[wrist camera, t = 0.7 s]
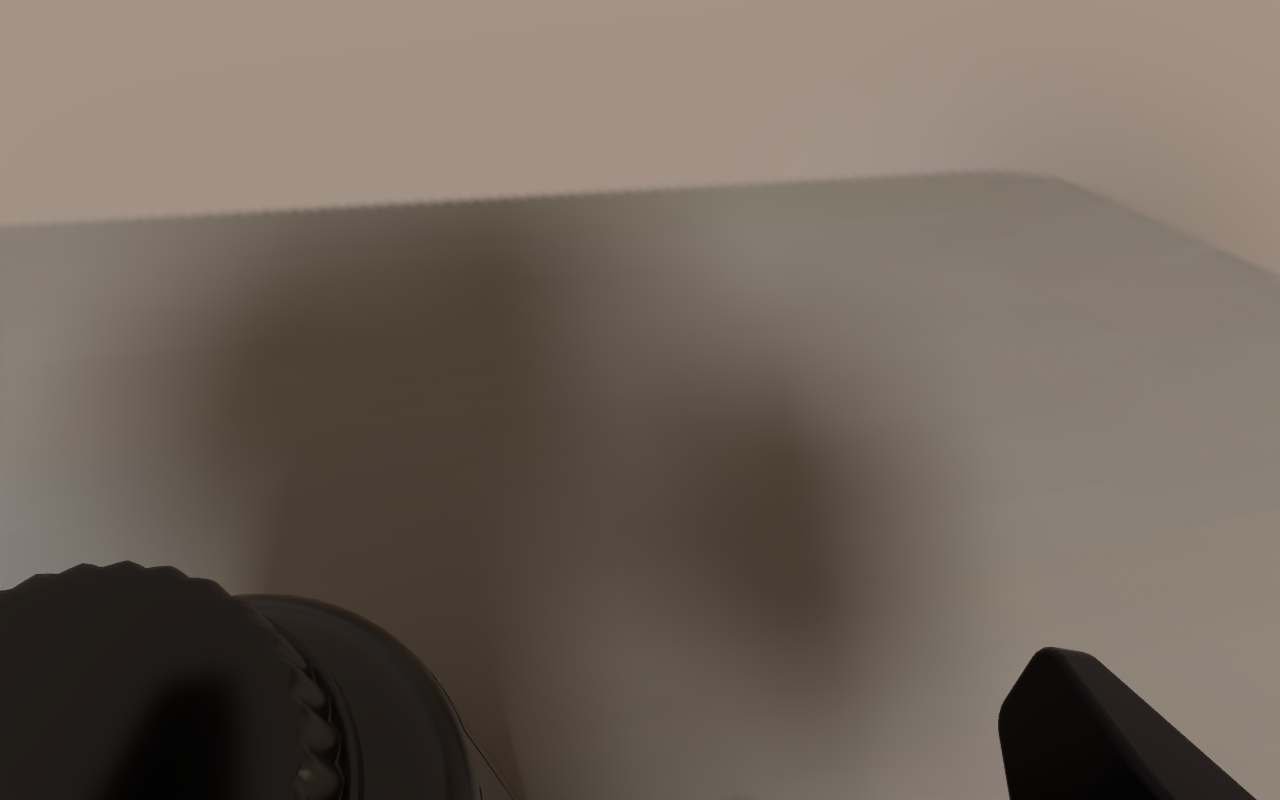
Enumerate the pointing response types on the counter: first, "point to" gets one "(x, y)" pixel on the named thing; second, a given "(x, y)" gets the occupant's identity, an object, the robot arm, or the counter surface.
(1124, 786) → the robot arm
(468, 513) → the counter surface
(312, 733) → the supplement bottle
